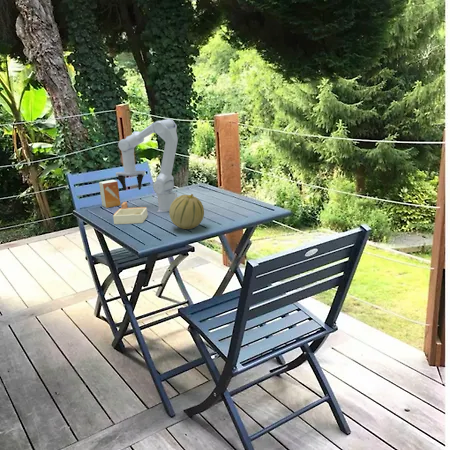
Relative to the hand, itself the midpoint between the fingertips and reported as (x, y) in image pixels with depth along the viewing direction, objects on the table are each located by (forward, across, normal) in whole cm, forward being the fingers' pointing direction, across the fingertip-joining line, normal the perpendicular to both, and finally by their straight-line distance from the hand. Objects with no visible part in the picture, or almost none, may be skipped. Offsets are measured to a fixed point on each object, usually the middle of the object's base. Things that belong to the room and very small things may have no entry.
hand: (132, 189), depth 235 cm
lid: (+9, 0, -10) cm, 13 cm away
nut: (+9, +7, -22) cm, 25 cm away
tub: (+9, +4, -24) cm, 26 cm away
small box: (+10, -14, +6) cm, 18 cm away
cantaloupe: (+10, +33, -38) cm, 51 cm away
